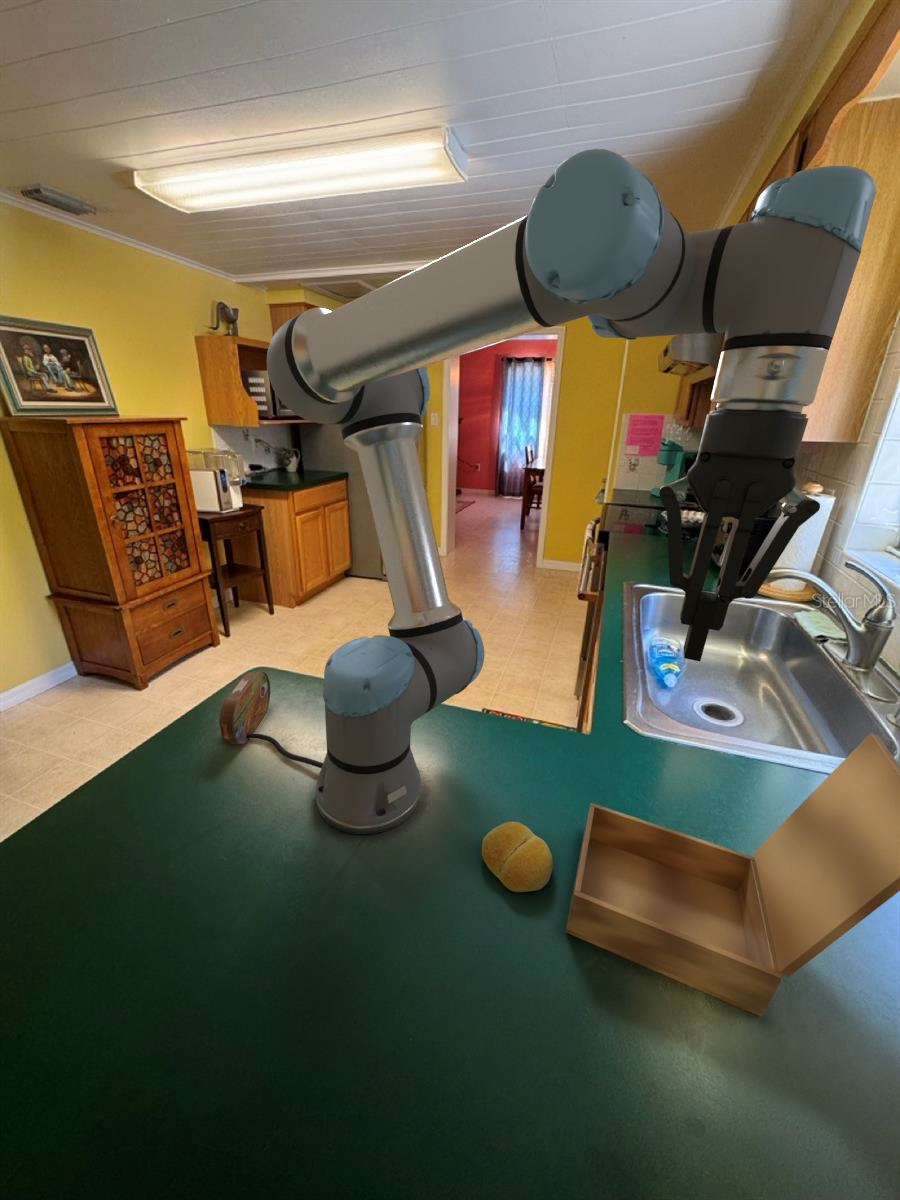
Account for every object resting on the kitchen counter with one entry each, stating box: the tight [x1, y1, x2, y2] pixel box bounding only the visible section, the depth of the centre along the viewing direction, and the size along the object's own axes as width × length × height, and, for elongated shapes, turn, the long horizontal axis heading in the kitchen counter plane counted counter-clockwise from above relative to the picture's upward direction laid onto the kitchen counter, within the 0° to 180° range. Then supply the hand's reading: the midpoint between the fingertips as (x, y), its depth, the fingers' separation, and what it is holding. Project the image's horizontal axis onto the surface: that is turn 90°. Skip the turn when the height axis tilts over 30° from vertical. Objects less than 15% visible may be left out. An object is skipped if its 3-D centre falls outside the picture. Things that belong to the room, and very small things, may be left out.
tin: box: [218, 670, 271, 745], centre depth 81 cm, size 15×3×8 cm, turn 179°
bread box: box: [565, 802, 783, 1018], centre depth 54 cm, size 19×14×6 cm
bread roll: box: [481, 821, 554, 893], centre depth 60 cm, size 8×9×4 cm
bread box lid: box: [753, 732, 900, 978], centre depth 45 cm, size 20×14×5 cm
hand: (691, 654), depth 49 cm, fingers closed
